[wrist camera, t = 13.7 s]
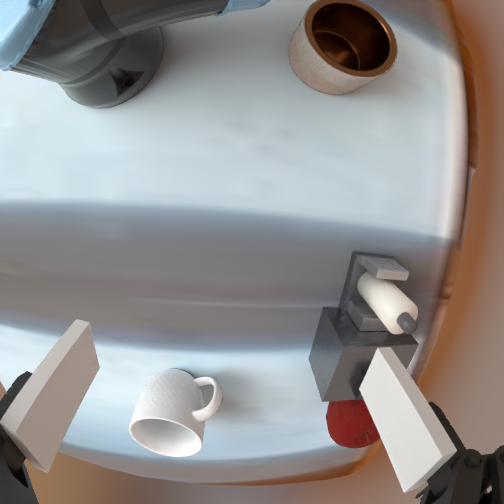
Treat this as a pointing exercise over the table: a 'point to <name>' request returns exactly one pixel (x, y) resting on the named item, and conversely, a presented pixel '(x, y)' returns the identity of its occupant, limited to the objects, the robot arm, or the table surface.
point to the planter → (341, 46)
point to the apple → (351, 423)
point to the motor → (355, 333)
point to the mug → (173, 413)
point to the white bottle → (389, 304)
